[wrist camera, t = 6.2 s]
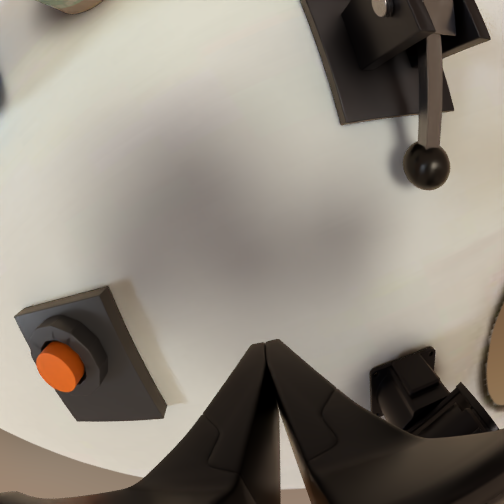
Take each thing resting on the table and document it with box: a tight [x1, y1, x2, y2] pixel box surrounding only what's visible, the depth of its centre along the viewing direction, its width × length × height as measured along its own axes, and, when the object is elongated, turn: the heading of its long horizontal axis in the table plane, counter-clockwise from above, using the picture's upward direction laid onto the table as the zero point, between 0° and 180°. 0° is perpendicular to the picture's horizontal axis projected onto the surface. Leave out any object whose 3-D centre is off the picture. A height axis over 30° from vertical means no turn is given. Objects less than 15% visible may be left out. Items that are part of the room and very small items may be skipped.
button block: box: [14, 287, 167, 421], centre depth 21 cm, size 12×10×4 cm
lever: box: [403, 0, 456, 190], centre depth 13 cm, size 13×3×3 cm, turn 15°
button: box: [36, 341, 84, 392], centre depth 19 cm, size 4×4×2 cm
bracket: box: [300, 0, 491, 125], centre depth 12 cm, size 11×9×9 cm
